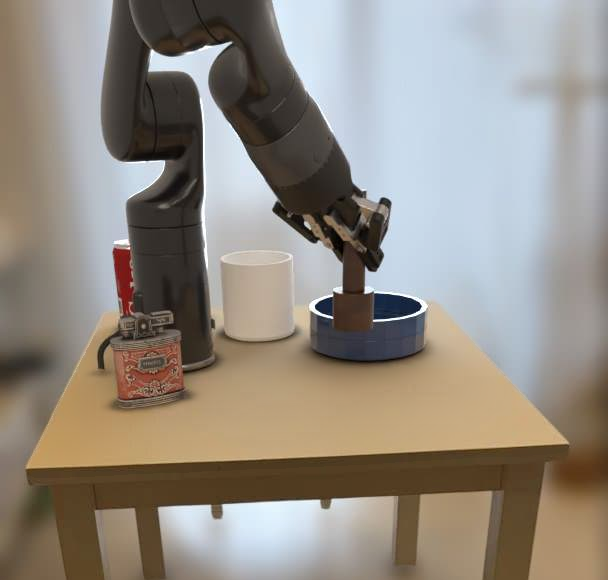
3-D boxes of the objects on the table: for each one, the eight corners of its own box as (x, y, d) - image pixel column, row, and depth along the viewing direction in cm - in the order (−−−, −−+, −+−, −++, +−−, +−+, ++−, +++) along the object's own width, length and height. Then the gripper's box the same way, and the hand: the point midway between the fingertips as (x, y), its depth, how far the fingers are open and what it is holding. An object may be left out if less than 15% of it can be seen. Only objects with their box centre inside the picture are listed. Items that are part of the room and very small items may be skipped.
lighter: (123, 410, 100) (112, 322, 95) (114, 401, 102) (103, 314, 97) (190, 398, 103) (183, 311, 98) (180, 389, 105) (172, 305, 101)
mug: (308, 333, 125) (307, 258, 120) (246, 346, 120) (242, 268, 116) (263, 315, 134) (260, 244, 130) (204, 325, 130) (198, 253, 125)
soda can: (160, 321, 132) (152, 237, 127) (152, 331, 128) (143, 244, 122) (126, 321, 133) (117, 237, 127) (117, 330, 128) (106, 244, 123)
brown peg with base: (334, 333, 95) (335, 193, 88) (331, 321, 98) (331, 187, 92) (375, 332, 95) (379, 192, 88) (370, 320, 99) (374, 186, 92)
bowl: (313, 366, 112) (313, 323, 110) (306, 332, 126) (306, 293, 123) (434, 362, 113) (436, 319, 110) (415, 329, 126) (416, 290, 124)
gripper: (376, 117, 77) (435, 240, 92) (251, 112, 85) (325, 227, 99) (341, 190, 76) (407, 302, 91) (218, 178, 84) (298, 284, 98)
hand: (364, 262), depth 95 cm, fingers closed on brown peg with base, 2 cm apart
